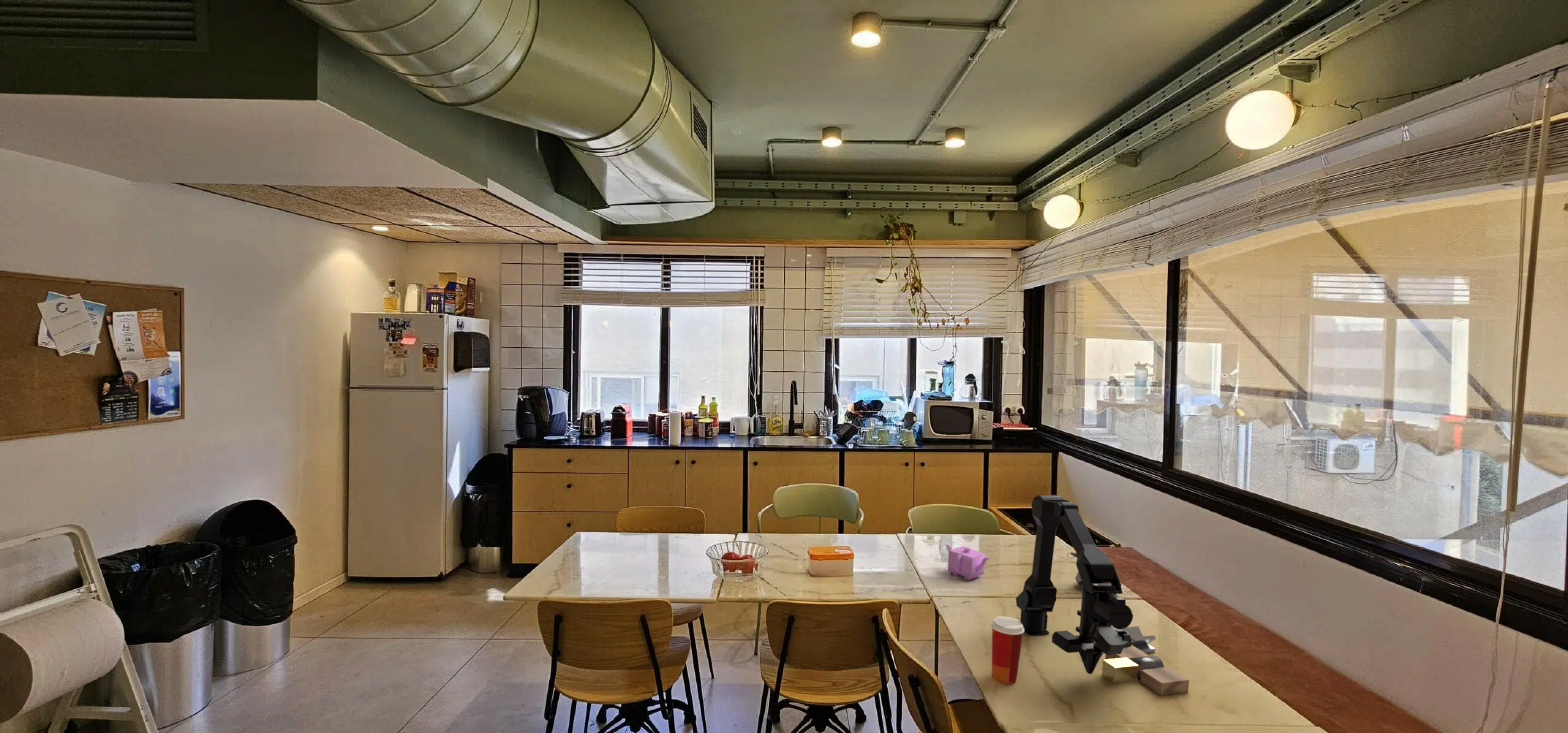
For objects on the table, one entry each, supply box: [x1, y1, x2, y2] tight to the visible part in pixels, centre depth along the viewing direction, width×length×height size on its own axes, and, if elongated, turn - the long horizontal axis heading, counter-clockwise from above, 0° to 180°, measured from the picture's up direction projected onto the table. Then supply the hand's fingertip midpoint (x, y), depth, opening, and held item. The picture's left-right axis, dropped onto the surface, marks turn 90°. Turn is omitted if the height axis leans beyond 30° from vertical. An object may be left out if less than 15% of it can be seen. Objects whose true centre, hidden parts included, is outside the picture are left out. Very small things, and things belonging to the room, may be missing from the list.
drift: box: [1101, 657, 1139, 684], centre depth 166 cm, size 7×4×4 cm, turn 106°
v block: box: [1121, 626, 1156, 654], centre depth 183 cm, size 7×7×4 cm
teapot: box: [944, 543, 992, 581], centre depth 232 cm, size 18×13×10 cm
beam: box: [1104, 645, 1190, 696], centre depth 168 cm, size 8×18×3 cm, turn 16°
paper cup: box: [990, 615, 1025, 685], centre depth 163 cm, size 8×8×14 cm
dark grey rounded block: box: [1130, 655, 1165, 679], centre depth 168 cm, size 7×4×4 cm, turn 106°
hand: (1089, 673), depth 164 cm, fingers closed
